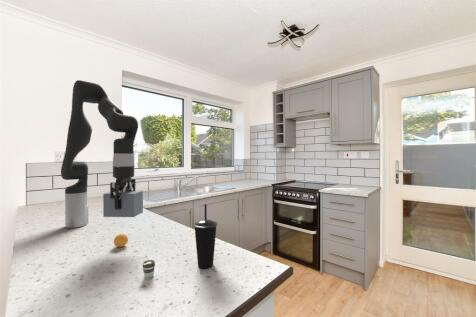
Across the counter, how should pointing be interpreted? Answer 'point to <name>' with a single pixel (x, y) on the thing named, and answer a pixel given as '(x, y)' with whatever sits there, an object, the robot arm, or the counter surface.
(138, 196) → the matte grey box
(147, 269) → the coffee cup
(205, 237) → the drinking cup
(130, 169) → the robot arm
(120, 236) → the ball
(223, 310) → the counter surface
